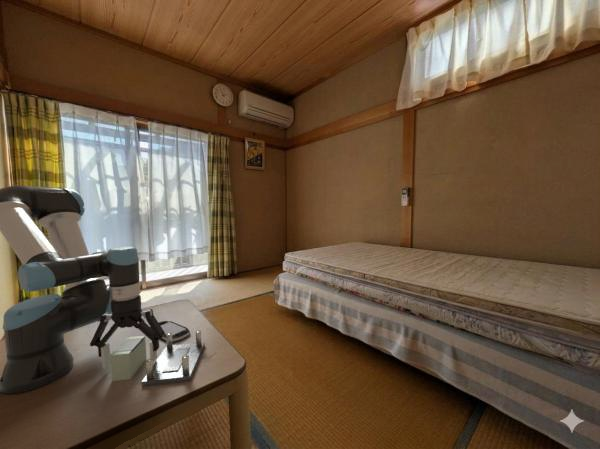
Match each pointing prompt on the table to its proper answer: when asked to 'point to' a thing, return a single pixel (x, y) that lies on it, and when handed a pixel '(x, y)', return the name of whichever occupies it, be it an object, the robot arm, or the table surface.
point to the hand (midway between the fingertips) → (130, 362)
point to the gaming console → (174, 330)
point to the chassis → (174, 362)
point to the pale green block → (128, 358)
